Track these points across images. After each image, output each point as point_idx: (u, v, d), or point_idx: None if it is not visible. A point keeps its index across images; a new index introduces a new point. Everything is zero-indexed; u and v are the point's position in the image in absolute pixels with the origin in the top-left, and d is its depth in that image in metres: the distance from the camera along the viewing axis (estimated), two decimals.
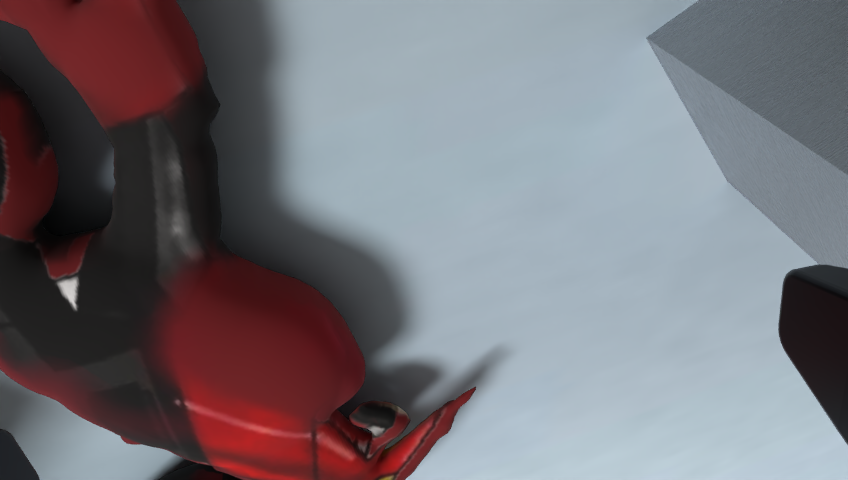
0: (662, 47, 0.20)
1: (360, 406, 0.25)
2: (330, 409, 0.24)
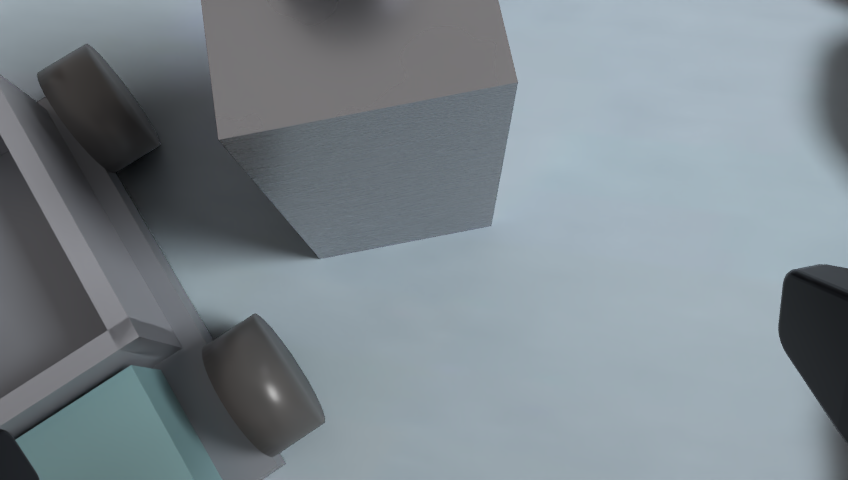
0: (492, 215, 0.21)
1: None
2: None
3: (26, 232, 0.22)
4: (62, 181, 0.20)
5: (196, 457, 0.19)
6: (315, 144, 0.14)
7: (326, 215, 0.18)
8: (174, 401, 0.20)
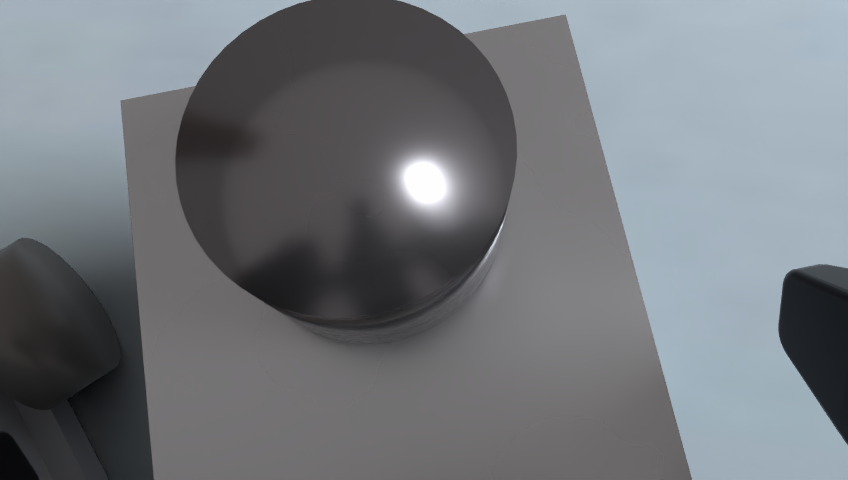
0: None
1: None
2: None
3: None
4: None
5: None
6: None
7: None
8: None
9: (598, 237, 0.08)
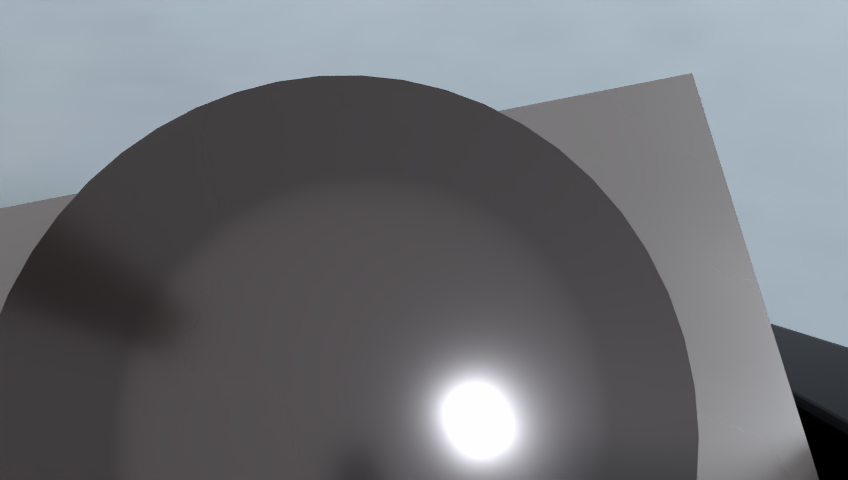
0: None
1: None
2: None
3: None
4: None
5: None
6: None
7: None
8: None
9: (766, 463, 0.05)
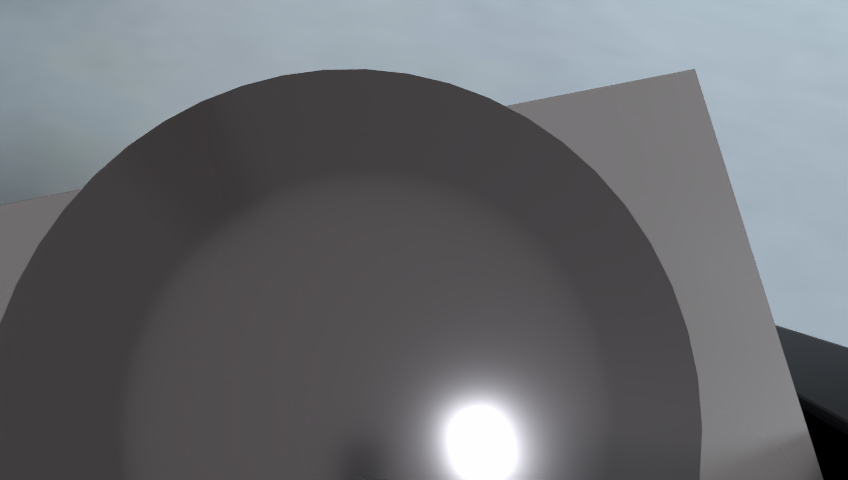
0: None
1: None
2: None
3: None
4: None
5: None
6: None
7: None
8: None
9: (769, 457, 0.05)
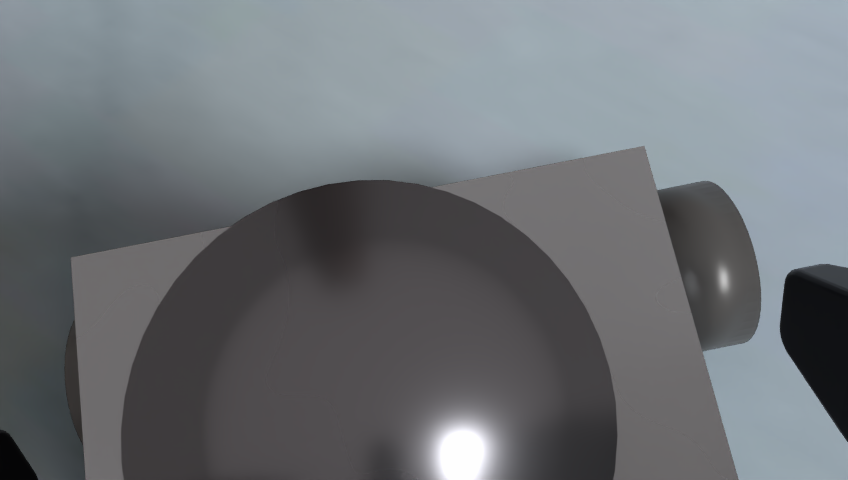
0: None
1: None
2: None
3: None
4: None
5: None
6: None
7: None
8: None
9: (695, 457, 0.06)
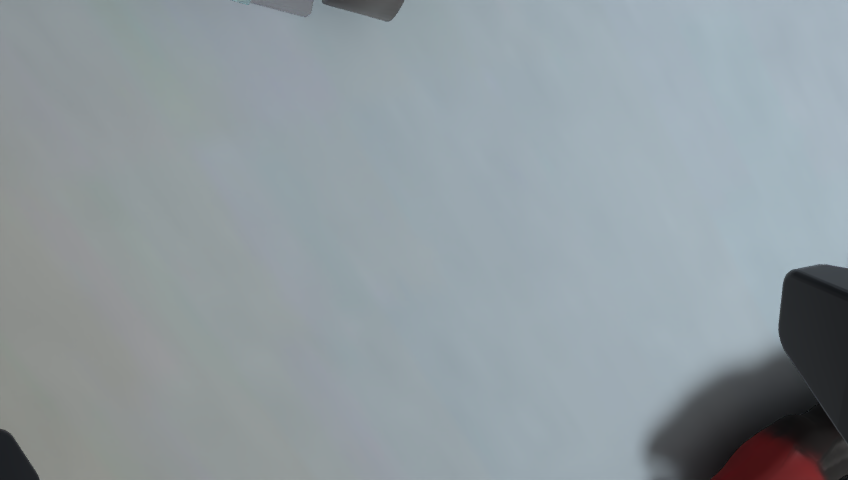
0: None
1: None
2: None
3: None
4: None
5: None
6: None
7: None
8: None
9: None
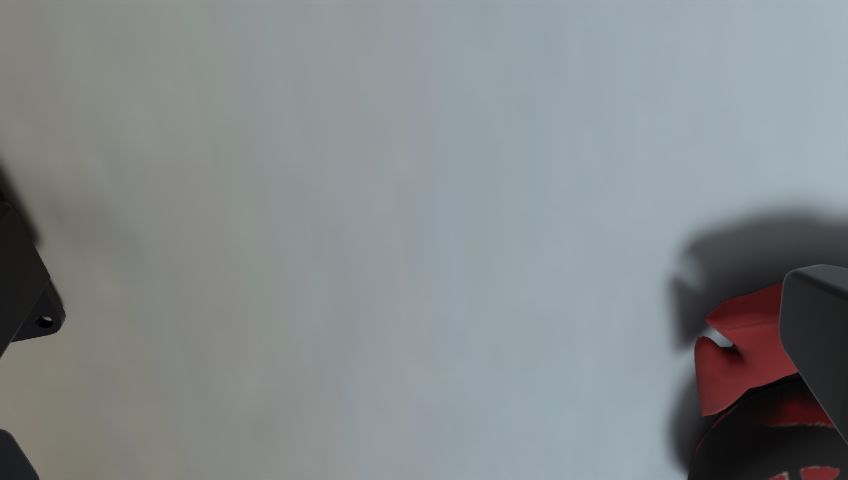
0: None
1: None
2: None
3: None
4: None
5: None
6: None
7: None
8: None
9: None
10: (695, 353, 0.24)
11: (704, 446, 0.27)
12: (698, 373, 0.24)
